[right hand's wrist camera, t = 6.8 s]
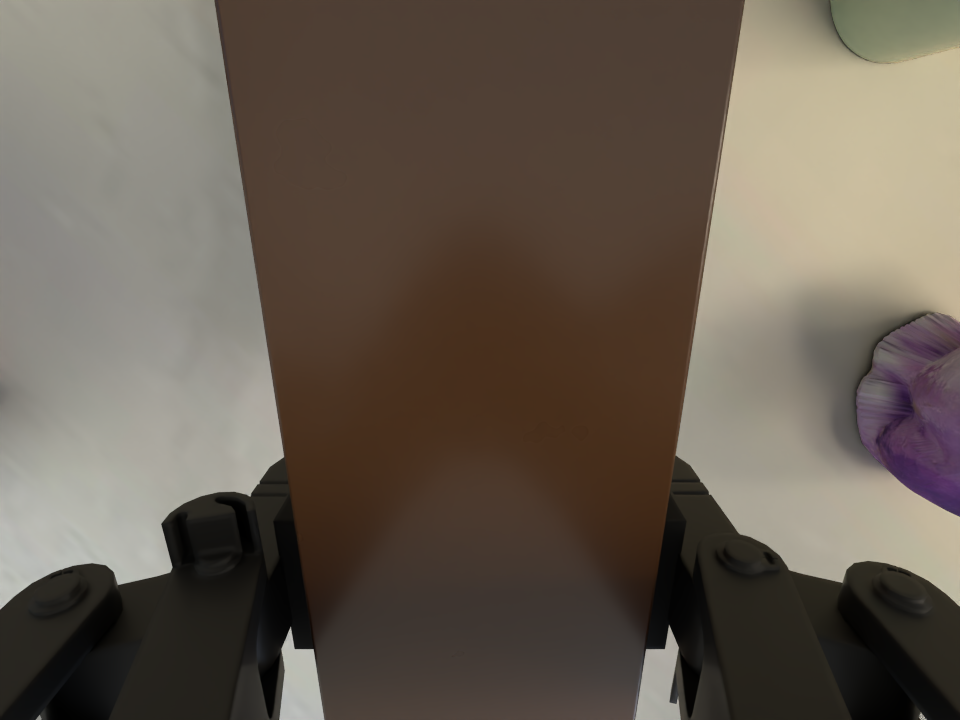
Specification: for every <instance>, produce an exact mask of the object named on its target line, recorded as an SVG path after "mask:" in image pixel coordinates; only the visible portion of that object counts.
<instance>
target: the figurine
mask: <svg viewBox="0 0 960 720" xmlns="http://www.w3.org/2000/svg"><path fill="white" fill-rule="evenodd" d="M856 392H857V397H856V405H857V409H856V412H857V425H858V427H859V434H860V438H861V441H862V444H863V445H864V446H865V447H866V448H867V449H868V451H869V452H870V453H871V454H872V455H873V457H874V458H876V459H877V460H878V461H879V462H880V463H881V464H882V465H883V466H884V467H885V468H886V469H888V470H889V471H890V472H891V473H892V474H893V475H894V476H895V477H896V478H897V479H898V480H899V481H900V482H901V483H903V484H904V485H905V486H906V487H908V488H909V489H910V490H912V491H913V492H915V493H917V494H918V495H920V496H922V497H923V498H925V499H927V500H929V501H930V502H932V503H934V504H936V505H938V506H939V507H941V508H943V509H945V510H947V511H949V512H951V513H953V514H955V515H957V516H960V322H958V321H957V320H955V319H954V318H952V317H951V316H948V315H944V314H940V313H934V314H927V315H926V316H922V317H921V318H919V319H916V321H912V322H911V323H910V324H906V325H905V326H902V327H901V328H900V329H896V330H895V331H894V332H891V333H890V334H889V335H888V336H886V337H884V339H883V340H882V341H881V342H879V343H878V345H877V346H876V348H875V350H874V357H873V360H872V368H871V370H870V371H869V373H868V374H867V376H864V378H863V379H862V380H861V382H860V385H859V387H858V389H857V391H856Z"/></svg>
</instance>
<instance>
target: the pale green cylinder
mask: <svg viewBox="0 0 960 720" xmlns="http://www.w3.org/2000/svg"><path fill="white" fill-rule="evenodd" d="M830 4H831V13H832V17H833V22H834V24H835V27H836V30H837V32H838V34H839V36H840V37H841V39H842V40H843V42H844V43H845V44H846V46H847V47H848V48H850V49H851V50H852V51H853V52H854V53H856V54H857V55H859V56H860V57H862V58H864V59H867V60H869V61H873V62H877V63H887V64H888V63H899V62H904V61H908V60H912V59H916V58H920V57H924V56H928V55H932V54H935V53H939V52H943V51H947V50H951V49H955V48H959V47H960V0H830Z"/></svg>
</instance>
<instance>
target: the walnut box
mask: <svg viewBox="0 0 960 720" xmlns="http://www.w3.org/2000/svg"><path fill="white" fill-rule="evenodd" d="M744 2H745V0H215V7H216V13H217V20H218V27H219V33H220V40H221V46H222V53H223V59H224V66H225V72H226V79H227V85H228V92H229V98H230V105H231V111H232V118H233V125H234V131H235V138H236V144H237V151H238V157H239V164H240V170H241V177H242V183H243V190H244V196H245V203H246V210H247V216H248V223H249V229H250V236H251V242H252V249H253V255H254V262H255V268H256V275H257V281H258V288H259V294H260V301H261V308H262V314H263V321H264V327H265V334H266V340H267V347H268V353H269V360H270V366H271V373H272V379H273V386H274V393H275V399H276V406H277V412H278V419H279V425H280V432H281V438H282V445H283V451H284V458H285V464H286V471H287V477H288V484H289V491H290V497H291V504H292V510H293V517H294V523H295V530H296V536H297V543H298V549H299V556H300V562H301V569H302V576H303V582H304V589H305V595H306V602H307V608H308V615H309V621H310V628H311V634H312V641H313V647H314V654H315V660H316V667H317V674H318V680H319V687H320V693H321V700H322V706H323V713H324V719H325V720H635V717H636V710H637V704H638V697H639V691H640V684H641V678H642V671H643V665H644V658H645V651H646V645H647V638H648V632H649V625H650V619H651V612H652V605H653V599H654V592H655V586H656V579H657V573H658V566H659V560H660V553H661V546H662V540H663V533H664V527H665V520H666V514H667V507H668V501H669V494H670V487H671V481H672V474H673V468H674V461H675V455H676V448H677V442H678V435H679V428H680V422H681V415H682V409H683V402H684V396H685V389H686V383H687V376H688V369H689V363H690V356H691V350H692V343H693V337H694V330H695V323H696V317H697V310H698V304H699V297H700V291H701V284H702V278H703V271H704V264H705V258H706V251H707V245H708V238H709V232H710V225H711V219H712V212H713V205H714V199H715V192H716V186H717V179H718V173H719V166H720V160H721V153H722V146H723V140H724V133H725V127H726V120H727V114H728V107H729V101H730V94H731V87H732V81H733V74H734V68H735V61H736V55H737V48H738V41H739V35H740V28H741V22H742V15H743V9H744Z"/></svg>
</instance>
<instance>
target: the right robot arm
mask: <svg viewBox="0 0 960 720" xmlns="http://www.w3.org/2000/svg"><path fill="white" fill-rule="evenodd" d="M161 525H162V529H163V532H164V536H165V540H166V544H167V548H168V551H169V555H170V559H171V563H172V567H173V568H172V570H171V573H167V574H164V575H160V576H157V577H152V578H148V579H143V580H139V581H134V582H130V583H125V584H121V585H118V584H117V581H116V578H115V575H114V572H113V571H112V570H111V569H109V568H108V567H107V566H106V565H99V564H93V563H91V564H84V565H76V566H72V567H69V568H65V569H62V570H59V571H56V572H53V573H51V574H49V575H47V576H45V577H43V578H41V579H40V580H38V581H36V582H34V583H32V584H31V585H29V586H28V587H27V588H25V589H24V590H23V591H21V592H20V593H19V594H17V595H16V596H15V597H13V598H12V599H11V600H10V601H9V602H8V603H7V604H6V605H5V606H4V607H3V608H2V609H1V610H0V720H36V719H37V717H38V716H39V715H40V716H41V718H42V720H279V717H280V708H281V699H282V690H283V680H284V671H285V670H284V662H283V656H282V651H281V648H282V646H283V644H284V641H285V639H286V636H287V634H288V632H289V629H290V627H291V630H292V636H293V641H294V647H295V649H314V647H313V641H312V634H311V628H310V621H309V615H308V608H307V602H306V595H305V589H304V582H303V576H302V569H301V562H300V556H299V549H298V543H297V536H296V530H295V523H294V517H293V510H292V504H291V497H290V491H289V484H288V477H287V471H286V464H285V458H282V459H281V460H279V461H278V462H277V463H275V464H274V465H272V466H271V467H270V468H269V469H268V471H267V472H266V473H265V475H264V476H263V478H262V479H261V480H260V484H258V485H257V486H256V488H255V489H254V490H253V492H252V493H251V497H249V496H248V495H245V494H241V493H237V492H218V493H214V494H209V495H205V496H201V497H198V498H196V499H194V500H191V501H189V502H187V503H184V504H183V505H181V506H180V507H178V508H177V509H175V510H174V511H173V512H171V513H170V514H169V515H168V516H167V518H166V519H165V520H164V521H163V522H162V524H161ZM669 625H670V628H671V630H672V632H673V635H674V637H675V639H676V642H677V644H678V647H679V651H678V656H677V662H676V667H675V672H674V678H673V683H672V689H671V696H670V703H675V704H677V699H678V697H679V706H680V716H681V720H920V718H919V715H920V713H922V714H923V715H924V716H925V718H926V719H927V720H960V607H959V606H958V605H957V604H956V603H955V602H954V601H953V600H952V599H951V598H950V597H949V596H947V595H946V594H945V593H944V592H942V591H941V590H940V589H938V588H937V587H936V586H934V585H933V584H932V583H930V582H929V581H927V580H925V579H924V578H922V577H920V576H918V575H916V574H914V573H912V572H910V571H908V570H905V569H903V568H900V567H896V566H893V565H890V564H886V563H879V562H871V561H866V562H859V563H854V564H853V565H852V566H850V567H849V568H848V569H847V570H846V573H845V577H844V580H843V583H840V582H835V581H831V580H826V579H822V578H817V577H813V576H808V575H804V574H800V573H797V572H793V571H790V570H788V567H787V566H786V564H785V563H784V561H783V560H782V559H781V557H780V556H779V555H778V554H777V553H776V552H774V551H773V550H772V549H771V548H769V547H768V546H767V545H765V544H763V543H761V542H759V541H757V540H755V539H753V538H751V537H748V536H744V535H740V534H739V533H738V532H737V530H736V529H735V528H734V526H733V525H732V523H731V522H730V521H729V519H728V518H727V516H726V515H725V514H724V512H723V511H722V510H721V508H720V507H719V505H718V504H717V503H716V501H715V500H714V498H713V497H712V496H711V495H709V491H708V490H707V489H706V487H705V486H704V484H703V483H700V479H699V477H698V476H697V475H696V473H695V472H694V470H693V469H692V468H691V466H690V465H689V464H687V463H686V462H684V461H683V460H681V459H680V458H678V457H677V456H676V455H675V461H674V468H673V474H672V481H671V487H670V494H669V501H668V507H667V514H666V520H665V527H664V533H663V540H662V546H661V553H660V560H659V566H658V573H657V579H656V586H655V592H654V599H653V605H652V612H651V619H650V625H649V632H648V638H647V645H646V649H665V645H666V639H667V634H668V628H669Z"/></svg>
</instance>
